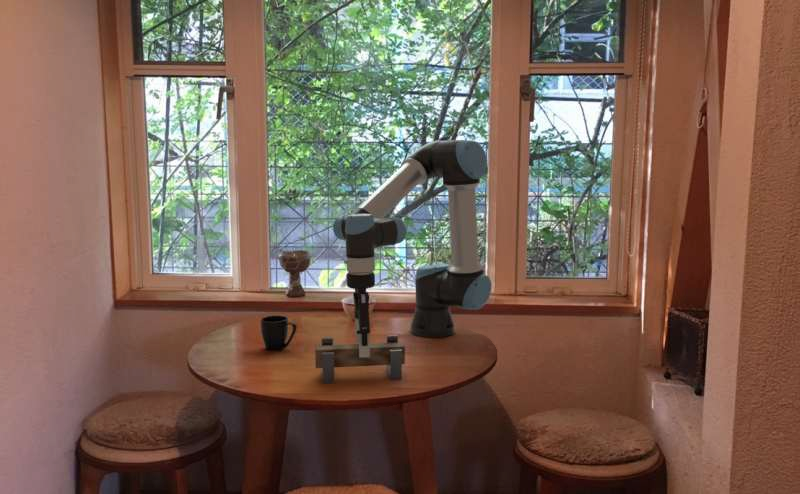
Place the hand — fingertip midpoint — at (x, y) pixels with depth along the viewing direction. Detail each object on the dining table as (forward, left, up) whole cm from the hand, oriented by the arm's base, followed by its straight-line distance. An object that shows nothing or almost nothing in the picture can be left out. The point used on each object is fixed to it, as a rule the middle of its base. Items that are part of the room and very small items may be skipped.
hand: (362, 348), depth 170 cm
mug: (+23, -28, -8) cm, 37 cm away
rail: (+1, 0, -4) cm, 4 cm away
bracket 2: (-9, 0, -7) cm, 11 cm away
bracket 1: (+9, 0, -7) cm, 12 cm away
